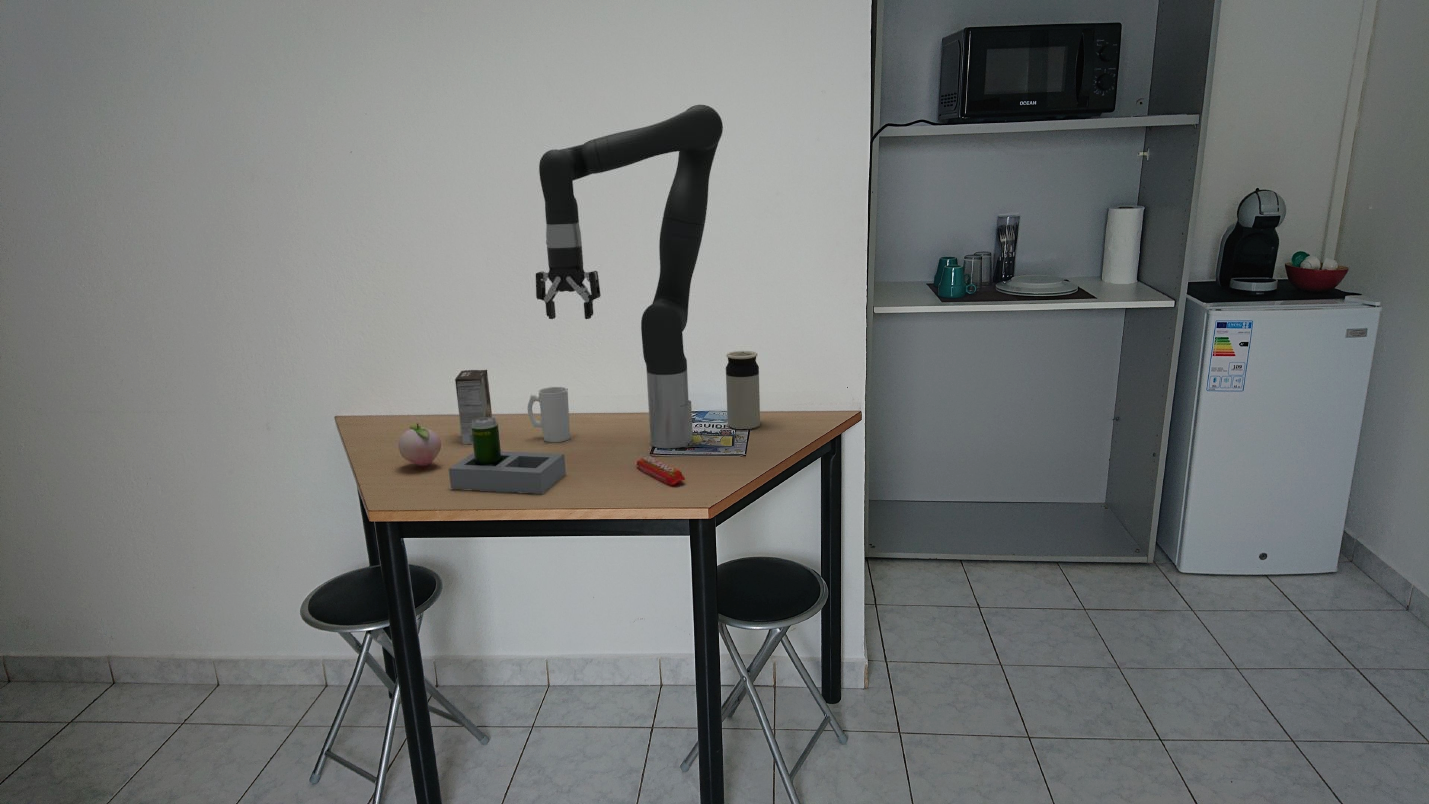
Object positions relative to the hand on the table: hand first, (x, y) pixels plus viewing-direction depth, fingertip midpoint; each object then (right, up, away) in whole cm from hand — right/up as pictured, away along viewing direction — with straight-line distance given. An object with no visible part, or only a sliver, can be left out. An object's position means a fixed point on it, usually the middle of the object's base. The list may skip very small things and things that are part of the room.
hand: (570, 318), depth 199 cm
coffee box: (-25, -28, +18) cm, 41 cm away
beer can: (-15, -34, -12) cm, 39 cm away
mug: (-7, -28, +16) cm, 32 cm away
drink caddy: (-10, -35, -13) cm, 39 cm away
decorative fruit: (-32, -33, -2) cm, 46 cm away
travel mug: (+39, -25, +20) cm, 51 cm away
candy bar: (+21, -34, -13) cm, 42 cm away
